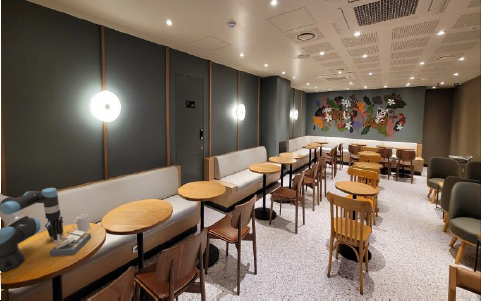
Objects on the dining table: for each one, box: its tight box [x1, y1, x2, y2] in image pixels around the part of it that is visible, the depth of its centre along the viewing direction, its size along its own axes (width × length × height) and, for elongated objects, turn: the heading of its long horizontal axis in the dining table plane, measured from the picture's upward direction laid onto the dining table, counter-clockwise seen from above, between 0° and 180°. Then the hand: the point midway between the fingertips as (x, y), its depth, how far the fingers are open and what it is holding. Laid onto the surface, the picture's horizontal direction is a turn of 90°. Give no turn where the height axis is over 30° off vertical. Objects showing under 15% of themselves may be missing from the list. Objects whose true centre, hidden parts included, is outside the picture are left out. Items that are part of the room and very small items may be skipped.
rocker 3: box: [66, 228, 86, 238], centre depth 161 cm, size 10×4×2 cm, turn 98°
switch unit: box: [49, 232, 92, 257], centre depth 155 cm, size 15×20×5 cm
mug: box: [72, 213, 91, 233], centre depth 176 cm, size 12×8×12 cm
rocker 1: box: [54, 237, 74, 249], centre depth 149 cm, size 10×4×2 cm, turn 96°
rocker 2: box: [60, 232, 80, 242], centre depth 155 cm, size 10×4×2 cm, turn 98°
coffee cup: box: [45, 219, 64, 242], centre depth 164 cm, size 10×10×15 cm
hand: (57, 243), depth 148 cm, fingers closed
